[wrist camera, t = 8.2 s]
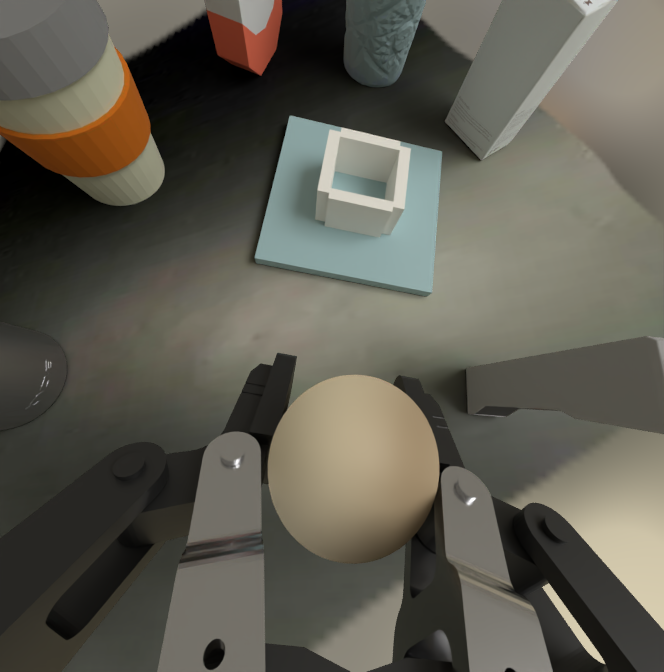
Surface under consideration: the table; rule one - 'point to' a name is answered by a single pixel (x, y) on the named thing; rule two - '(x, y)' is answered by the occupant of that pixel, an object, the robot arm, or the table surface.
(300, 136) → the sleeve holder
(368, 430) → the maple peg
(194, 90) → the table surface
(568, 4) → the skincare box
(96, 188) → the reusable coffee cup
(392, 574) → the table surface
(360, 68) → the blue embossed cup
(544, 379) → the vintage mobile phone
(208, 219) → the table surface
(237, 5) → the french fries container
